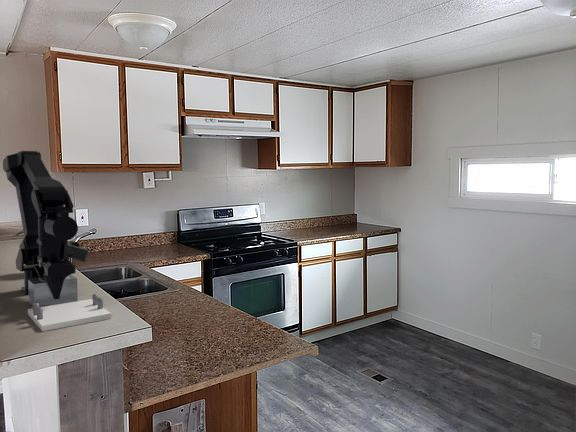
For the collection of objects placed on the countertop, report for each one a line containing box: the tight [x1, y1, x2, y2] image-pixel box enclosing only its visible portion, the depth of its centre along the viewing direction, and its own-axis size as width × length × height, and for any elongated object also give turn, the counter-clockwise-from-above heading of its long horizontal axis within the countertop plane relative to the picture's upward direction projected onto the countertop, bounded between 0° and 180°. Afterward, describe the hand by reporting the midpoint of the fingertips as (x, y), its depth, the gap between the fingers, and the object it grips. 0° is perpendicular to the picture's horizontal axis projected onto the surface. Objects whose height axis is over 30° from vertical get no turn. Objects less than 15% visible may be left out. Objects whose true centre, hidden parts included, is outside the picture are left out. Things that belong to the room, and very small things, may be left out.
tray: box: [27, 293, 112, 332], centre depth 109 cm, size 14×14×4 cm
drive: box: [28, 274, 79, 307], centre depth 120 cm, size 6×10×6 cm, turn 130°
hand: (53, 296), depth 120 cm, fingers closed on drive, 6 cm apart
